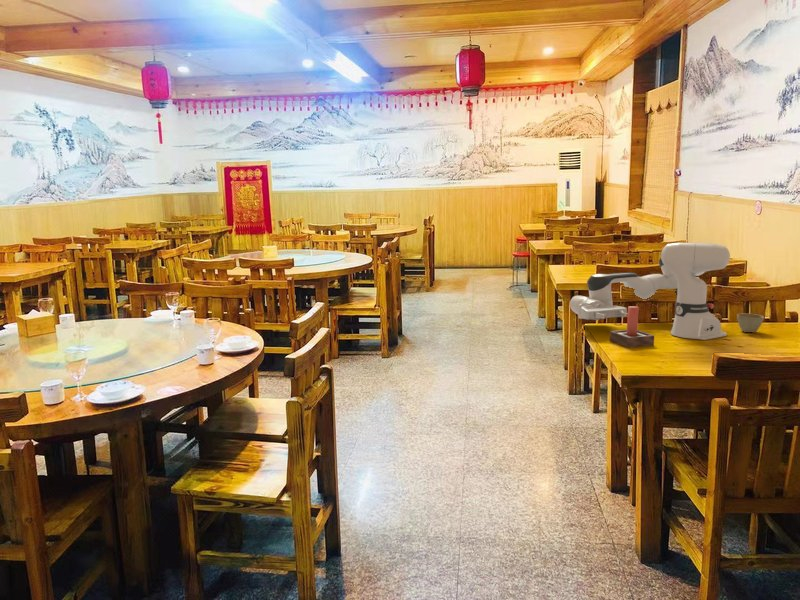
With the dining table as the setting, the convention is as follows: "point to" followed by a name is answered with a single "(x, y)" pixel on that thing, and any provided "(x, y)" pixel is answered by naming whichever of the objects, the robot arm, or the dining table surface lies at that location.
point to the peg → (632, 321)
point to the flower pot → (749, 322)
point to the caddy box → (631, 338)
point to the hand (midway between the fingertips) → (614, 316)
